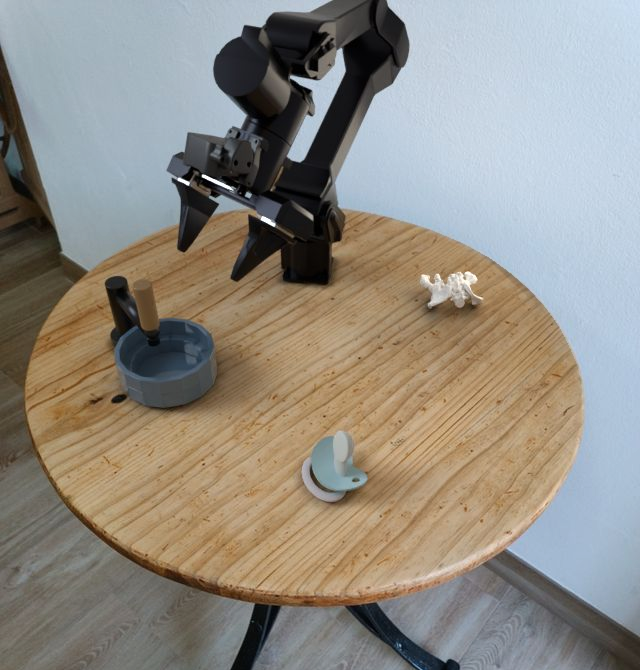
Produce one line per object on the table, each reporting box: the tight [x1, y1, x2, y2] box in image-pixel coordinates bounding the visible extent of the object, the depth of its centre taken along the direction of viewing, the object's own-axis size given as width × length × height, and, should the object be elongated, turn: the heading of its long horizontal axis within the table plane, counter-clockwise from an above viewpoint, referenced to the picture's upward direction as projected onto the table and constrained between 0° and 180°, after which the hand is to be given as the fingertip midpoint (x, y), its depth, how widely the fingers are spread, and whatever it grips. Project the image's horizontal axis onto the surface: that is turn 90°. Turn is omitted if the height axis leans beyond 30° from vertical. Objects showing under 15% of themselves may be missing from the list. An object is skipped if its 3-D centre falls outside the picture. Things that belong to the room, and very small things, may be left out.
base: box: [109, 327, 120, 348], centre depth 86 cm, size 4×4×1 cm
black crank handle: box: [104, 275, 160, 347], centre depth 79 cm, size 11×3×12 cm, turn 35°
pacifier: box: [301, 430, 368, 503], centre depth 70 cm, size 7×6×6 cm
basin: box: [113, 317, 218, 409], centre depth 80 cm, size 11×11×4 cm
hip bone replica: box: [419, 271, 484, 309], centre depth 92 cm, size 8×4×7 cm
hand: (206, 265), depth 78 cm, fingers open, 9 cm apart
